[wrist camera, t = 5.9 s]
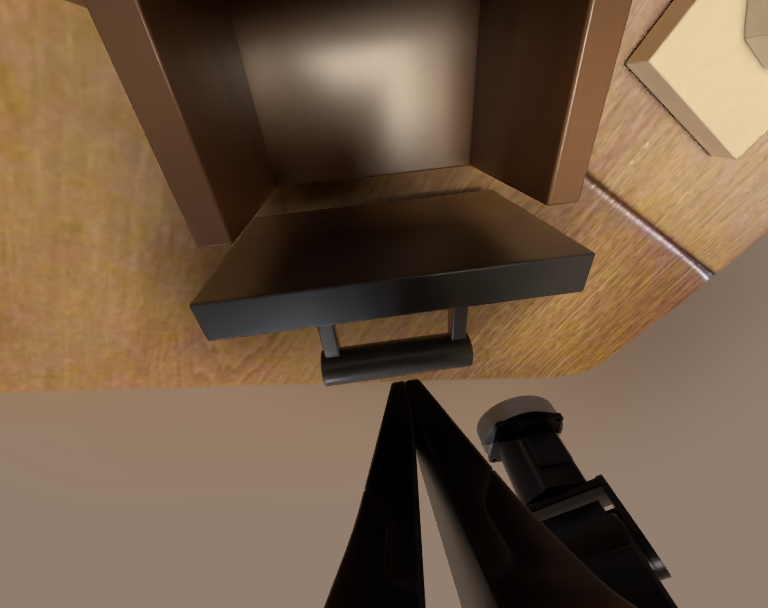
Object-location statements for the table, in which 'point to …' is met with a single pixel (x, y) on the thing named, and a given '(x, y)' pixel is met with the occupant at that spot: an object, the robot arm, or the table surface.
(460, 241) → the brown drawer
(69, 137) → the table surface
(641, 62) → the control block
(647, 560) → the robot arm
